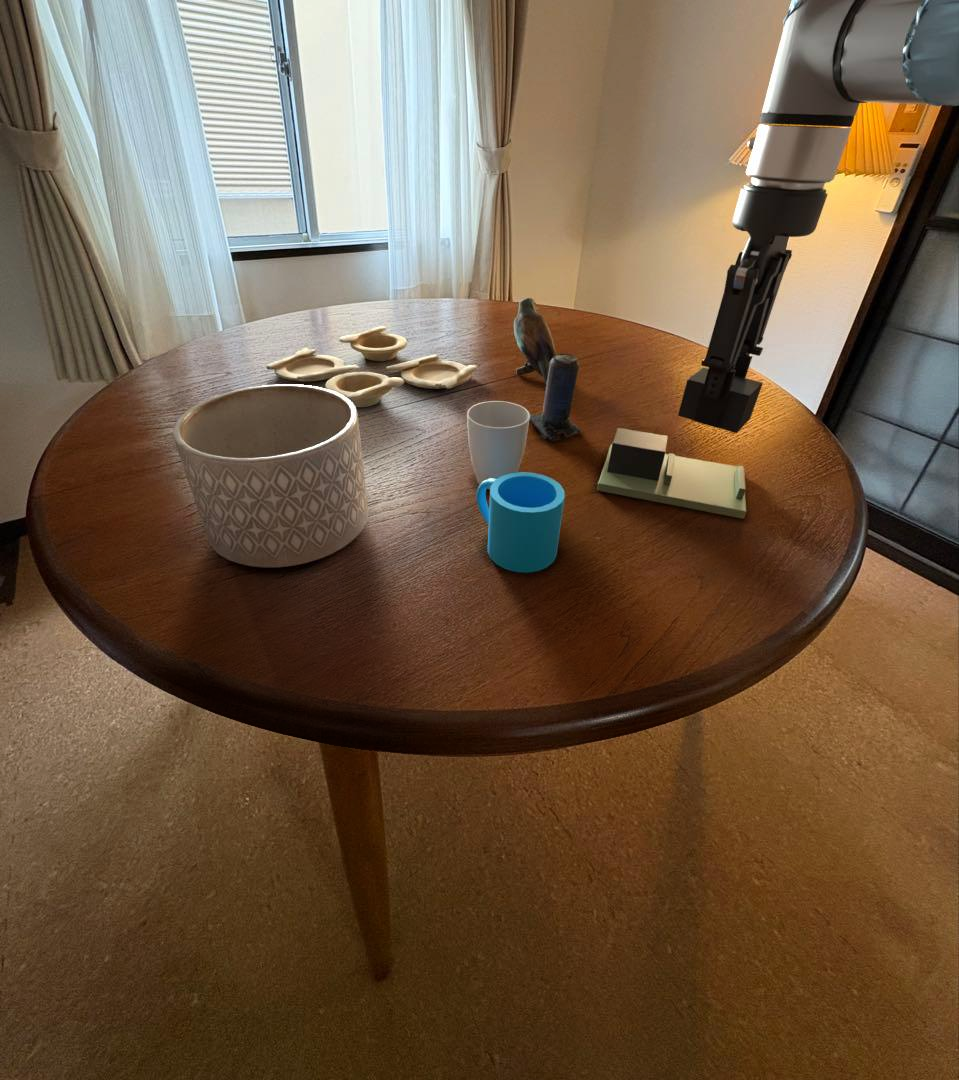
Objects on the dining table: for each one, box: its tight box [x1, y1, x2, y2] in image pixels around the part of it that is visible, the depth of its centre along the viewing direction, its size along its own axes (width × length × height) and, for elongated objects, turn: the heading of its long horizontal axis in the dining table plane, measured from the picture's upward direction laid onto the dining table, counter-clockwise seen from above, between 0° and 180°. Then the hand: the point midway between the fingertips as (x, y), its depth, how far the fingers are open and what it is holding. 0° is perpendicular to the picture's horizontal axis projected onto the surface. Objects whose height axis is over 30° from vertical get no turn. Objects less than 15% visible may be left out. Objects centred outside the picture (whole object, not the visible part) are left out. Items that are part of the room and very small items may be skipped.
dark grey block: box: [677, 367, 764, 434], centre depth 65 cm, size 7×5×4 cm
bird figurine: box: [513, 297, 557, 385], centre depth 106 cm, size 13×10×20 cm
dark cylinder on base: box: [529, 353, 581, 443], centre depth 88 cm, size 9×8×12 cm
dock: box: [596, 427, 747, 520], centre depth 77 cm, size 19×12×6 cm, turn 71°
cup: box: [466, 400, 531, 490], centre depth 75 cm, size 8×8×10 cm
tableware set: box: [265, 325, 478, 408], centre depth 106 cm, size 35×29×4 cm
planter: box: [172, 384, 370, 568], centre depth 64 cm, size 19×19×14 cm
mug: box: [475, 471, 566, 574], centre depth 64 cm, size 12×8×8 cm
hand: (714, 414), depth 66 cm, fingers closed on dark grey block, 5 cm apart
